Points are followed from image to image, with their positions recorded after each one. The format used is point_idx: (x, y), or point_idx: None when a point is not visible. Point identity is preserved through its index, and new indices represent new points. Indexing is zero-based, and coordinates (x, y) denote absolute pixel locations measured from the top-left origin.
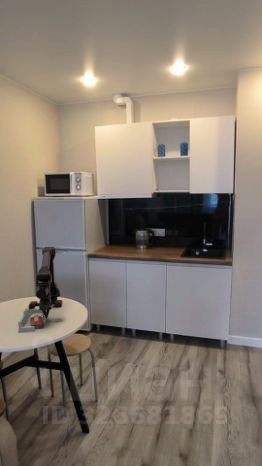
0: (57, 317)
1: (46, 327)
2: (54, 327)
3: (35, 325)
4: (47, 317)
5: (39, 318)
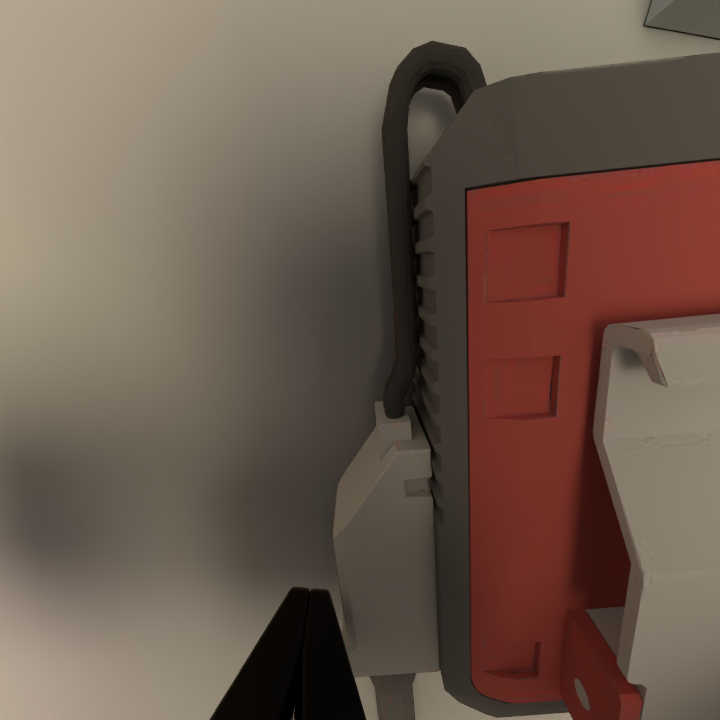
0: (114, 632)
1: (297, 162)
2: (52, 89)
3: (714, 71)
4: (280, 609)
5: (527, 577)
